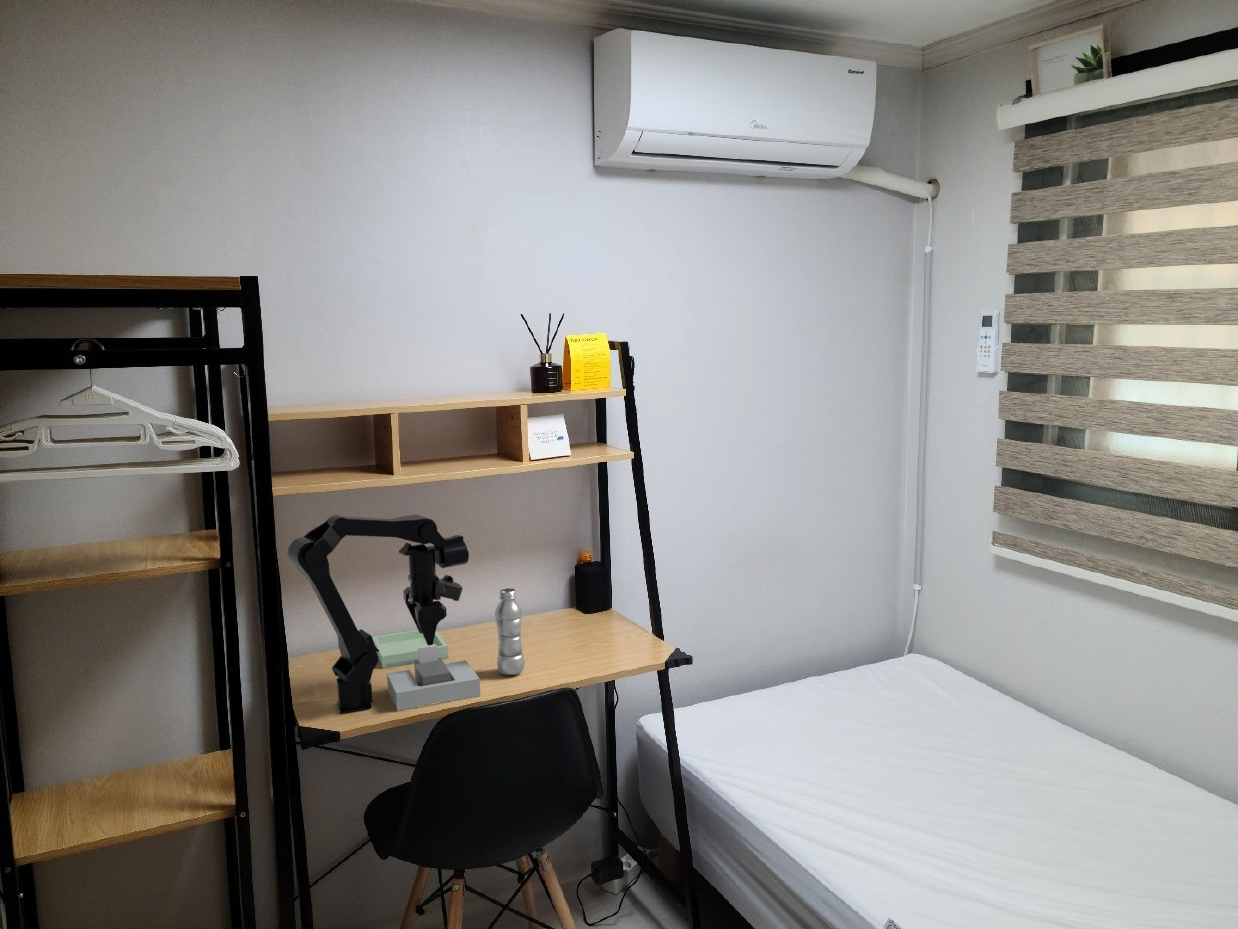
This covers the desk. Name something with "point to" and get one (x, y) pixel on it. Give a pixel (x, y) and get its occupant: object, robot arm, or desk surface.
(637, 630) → the desk surface
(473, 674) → the bay housing
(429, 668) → the grey block with handle
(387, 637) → the tray
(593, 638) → the desk surface
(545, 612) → the desk surface
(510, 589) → the plastic bottle
